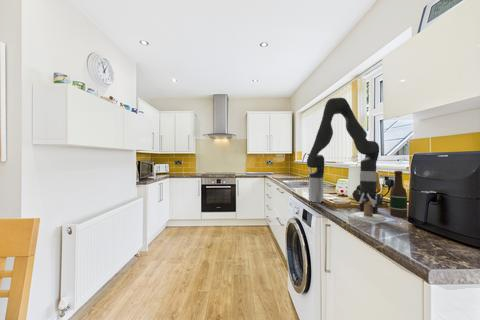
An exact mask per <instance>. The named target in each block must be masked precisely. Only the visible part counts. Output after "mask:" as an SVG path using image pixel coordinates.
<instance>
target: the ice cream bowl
mask: <svg viewBox="0 0 480 320" xmlns="http://www.w3.org/2000/svg"><path fill="white" fill-rule="evenodd" d="M358 190H361V188H360V184H358V185H357V186H356V188H355V189H354V190H353V192H352V198H353V199H354V200H355V201H356V195H355V191H358ZM361 196H362V195H361ZM369 202H370V200H367V199H366V200H365V202H364V203H369ZM364 203H363V204H364ZM357 210H359V211H360V206H359V207H357Z"/></svg>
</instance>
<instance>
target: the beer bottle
mask: <svg viewBox="0 0 480 320" xmlns="http://www.w3.org/2000/svg"><path fill="white" fill-rule="evenodd" d="M393 173H394V179H393V180H394V181H393V186H392V188H391V189H390V192H389V215H390V216H391V217H395V218H401V219H403V218H407V217H408V193H407V190H406V188H405V187H404V184H403V171H402V170H395V171H394V172H393Z"/></svg>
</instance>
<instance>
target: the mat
mask: <svg viewBox="0 0 480 320" xmlns="http://www.w3.org/2000/svg"><path fill="white" fill-rule="evenodd" d="M353 213H354V212H352V213H345V214H344V213H343V214H342V215H343V216H346V217H348V218H352V219H356V220H360V221H362V222H366V223H370V224H373V225H374V224H382V223H389V222H394V221H396V218H395V219H394V218H391V217H387V216H384V217H385V220H383V221H368V220H362V219H358V218H355V217H354V216H353Z"/></svg>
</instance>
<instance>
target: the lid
mask: <svg viewBox="0 0 480 320" xmlns="http://www.w3.org/2000/svg"><path fill="white" fill-rule="evenodd" d="M352 213H353V216H354V217H355V218H358V219H357V220H359V219H362V220H368V221H383V220H385V217H386V216H384V215H383V214H382V215H381V214H379V213H377V214H373V205H372V203H371V202H370V203H369V202H367V203H364V211H359V212H352ZM355 218H354V219H355ZM362 220H361V221H362Z"/></svg>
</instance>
